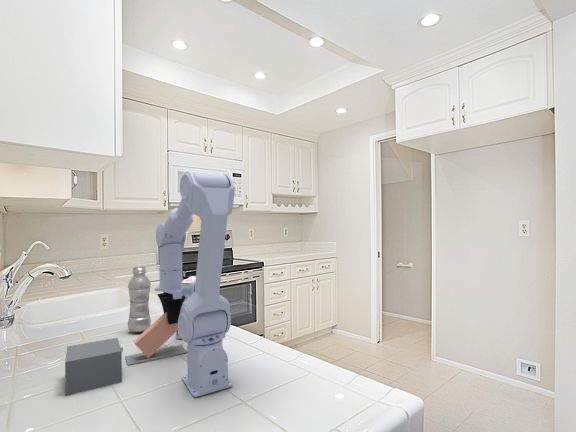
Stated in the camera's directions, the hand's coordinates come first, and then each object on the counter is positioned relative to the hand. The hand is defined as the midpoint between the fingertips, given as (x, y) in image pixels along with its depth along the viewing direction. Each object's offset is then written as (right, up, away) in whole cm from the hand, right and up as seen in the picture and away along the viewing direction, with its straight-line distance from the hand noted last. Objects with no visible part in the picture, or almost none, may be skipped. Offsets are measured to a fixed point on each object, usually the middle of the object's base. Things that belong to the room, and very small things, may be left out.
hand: (171, 321), depth 86 cm
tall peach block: (-1, -4, -1) cm, 5 cm away
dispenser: (-12, -8, -15) cm, 20 cm away
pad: (-3, -8, -2) cm, 9 cm away
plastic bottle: (-16, -9, +17) cm, 25 cm away
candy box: (+1, -9, +16) cm, 18 cm away
